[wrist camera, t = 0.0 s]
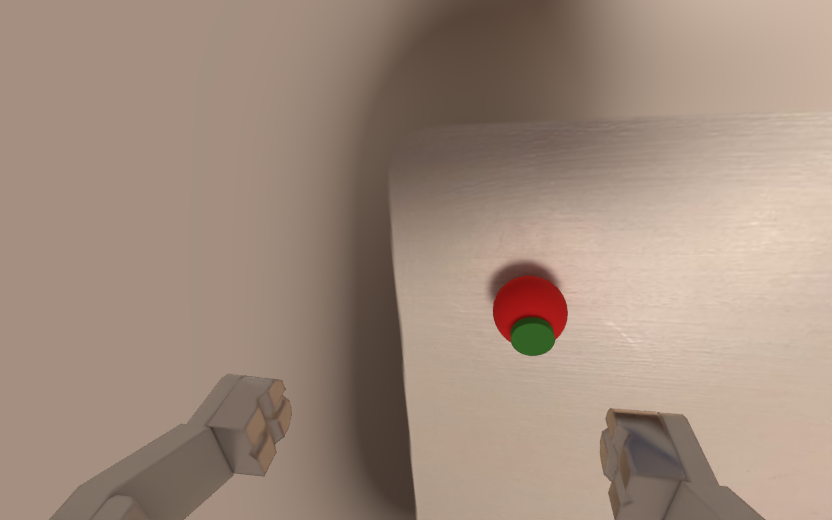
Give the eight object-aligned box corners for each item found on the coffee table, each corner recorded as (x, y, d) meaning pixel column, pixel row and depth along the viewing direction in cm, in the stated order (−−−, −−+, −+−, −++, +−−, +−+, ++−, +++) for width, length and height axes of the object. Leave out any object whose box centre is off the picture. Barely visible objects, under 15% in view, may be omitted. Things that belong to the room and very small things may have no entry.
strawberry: (494, 261, 26) (493, 306, 22) (566, 263, 25) (579, 310, 21) (492, 315, 28) (491, 365, 24) (558, 319, 27) (568, 371, 23)
